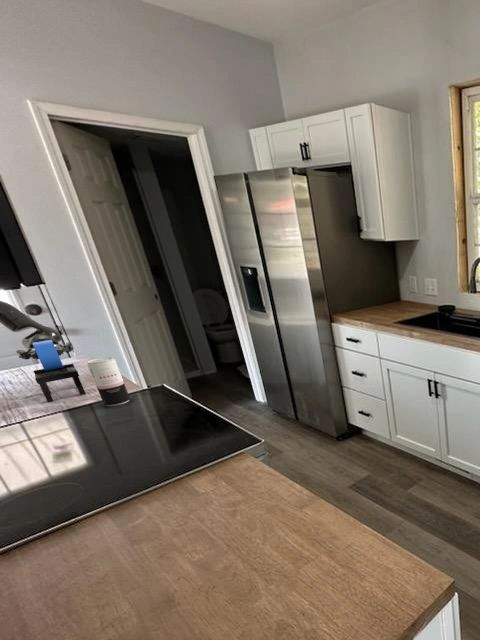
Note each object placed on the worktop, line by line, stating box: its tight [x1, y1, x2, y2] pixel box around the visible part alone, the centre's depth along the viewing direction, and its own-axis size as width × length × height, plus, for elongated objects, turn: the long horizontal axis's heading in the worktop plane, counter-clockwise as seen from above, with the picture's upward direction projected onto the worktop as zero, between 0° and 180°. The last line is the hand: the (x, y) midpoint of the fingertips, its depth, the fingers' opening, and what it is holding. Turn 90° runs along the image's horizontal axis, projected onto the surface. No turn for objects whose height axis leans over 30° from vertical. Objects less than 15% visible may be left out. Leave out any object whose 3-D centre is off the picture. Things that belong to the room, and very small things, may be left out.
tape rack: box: [33, 363, 87, 403], centre depth 145 cm, size 14×10×9 cm
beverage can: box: [87, 356, 131, 407], centre depth 135 cm, size 7×7×15 cm
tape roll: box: [32, 340, 64, 371], centre depth 143 cm, size 5×10×10 cm, turn 50°
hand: (47, 354), depth 140 cm, fingers closed on tape roll, 4 cm apart
